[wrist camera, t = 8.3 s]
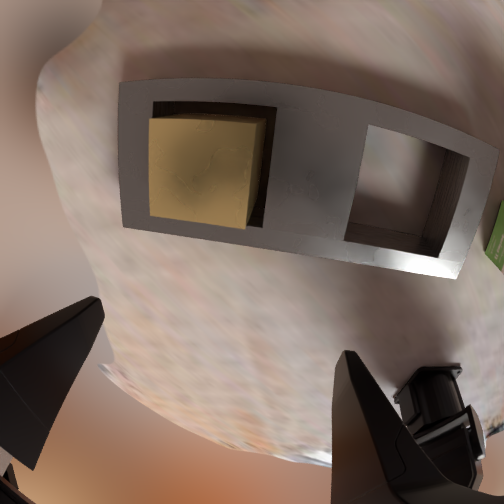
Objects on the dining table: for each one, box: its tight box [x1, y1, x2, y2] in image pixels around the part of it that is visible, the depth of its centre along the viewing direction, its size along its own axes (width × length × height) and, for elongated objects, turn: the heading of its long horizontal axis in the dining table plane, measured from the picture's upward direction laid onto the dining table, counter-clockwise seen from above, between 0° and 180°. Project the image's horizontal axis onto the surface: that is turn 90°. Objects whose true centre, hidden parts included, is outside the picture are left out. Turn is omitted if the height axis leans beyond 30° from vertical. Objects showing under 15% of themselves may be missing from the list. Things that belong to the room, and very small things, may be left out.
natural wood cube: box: [149, 113, 267, 229], centre depth 15 cm, size 5×5×5 cm
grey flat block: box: [118, 78, 500, 279], centre depth 15 cm, size 22×9×3 cm, turn 85°
